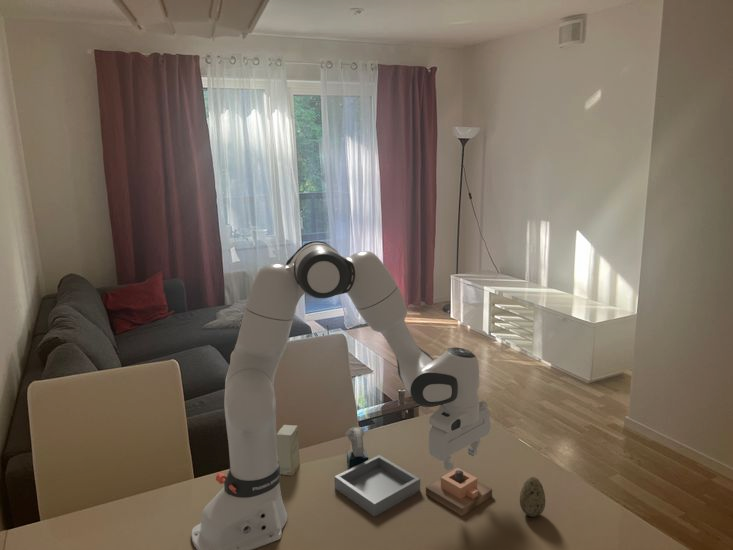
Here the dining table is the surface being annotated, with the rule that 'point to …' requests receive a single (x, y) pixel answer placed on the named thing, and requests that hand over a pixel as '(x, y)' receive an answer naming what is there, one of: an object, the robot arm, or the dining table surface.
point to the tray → (377, 484)
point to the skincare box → (288, 449)
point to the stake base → (454, 502)
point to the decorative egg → (532, 497)
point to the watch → (356, 447)
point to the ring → (460, 485)
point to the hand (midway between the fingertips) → (460, 461)
